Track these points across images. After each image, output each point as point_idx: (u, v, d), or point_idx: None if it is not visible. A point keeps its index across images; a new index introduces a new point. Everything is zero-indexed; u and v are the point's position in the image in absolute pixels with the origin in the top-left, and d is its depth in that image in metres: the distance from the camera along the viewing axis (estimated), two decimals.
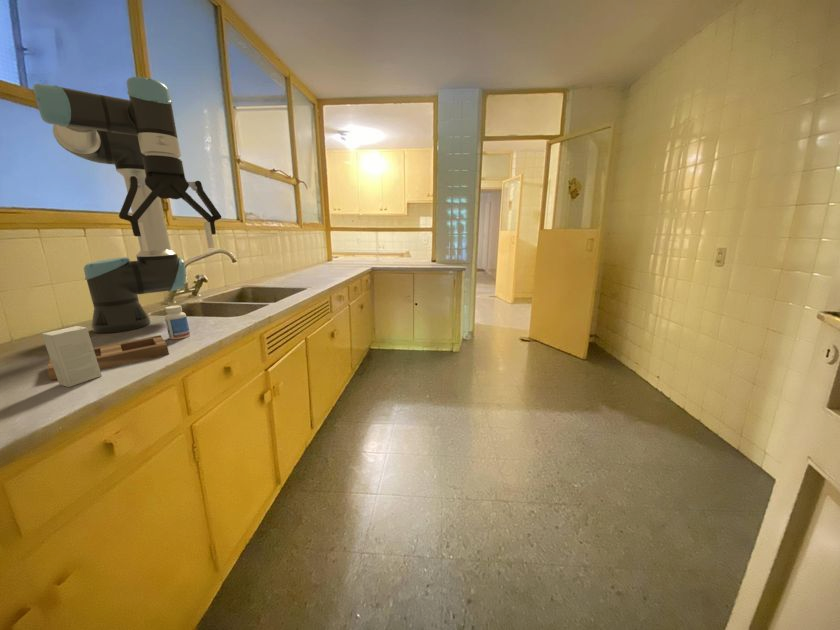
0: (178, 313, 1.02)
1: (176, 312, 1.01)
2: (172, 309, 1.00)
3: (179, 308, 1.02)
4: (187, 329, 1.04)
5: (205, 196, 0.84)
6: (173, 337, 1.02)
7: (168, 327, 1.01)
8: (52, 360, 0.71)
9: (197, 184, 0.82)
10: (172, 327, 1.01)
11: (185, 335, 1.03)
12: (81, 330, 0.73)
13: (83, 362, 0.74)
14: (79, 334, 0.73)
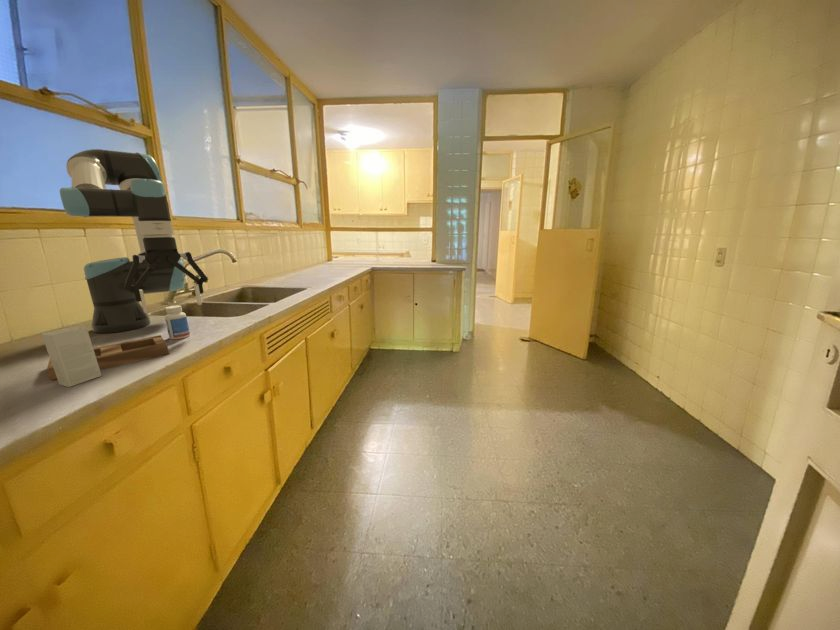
0: (178, 313, 1.02)
1: (176, 312, 1.01)
2: (172, 309, 1.00)
3: (179, 308, 1.02)
4: (187, 329, 1.04)
5: (194, 264, 1.02)
6: (173, 337, 1.02)
7: (168, 327, 1.01)
8: (52, 360, 0.71)
9: (187, 255, 1.01)
10: (172, 327, 1.01)
11: (185, 335, 1.03)
12: (81, 330, 0.73)
13: (83, 362, 0.74)
14: (79, 334, 0.73)
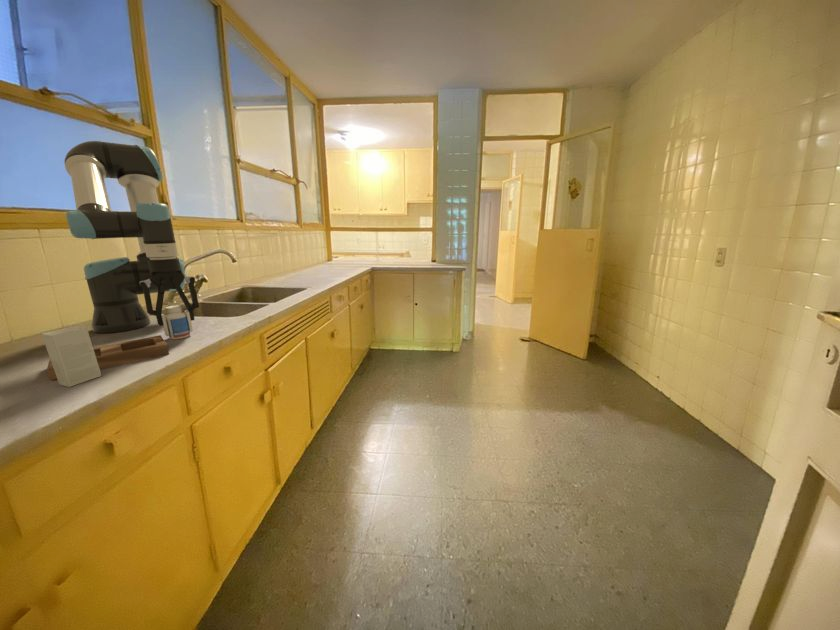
0: (178, 313, 1.02)
1: (176, 312, 1.01)
2: (172, 309, 1.00)
3: (179, 308, 1.02)
4: (187, 329, 1.04)
5: (193, 289, 1.04)
6: (173, 337, 1.02)
7: (168, 327, 1.01)
8: (52, 360, 0.71)
9: (191, 279, 1.03)
10: (172, 327, 1.01)
11: (185, 335, 1.03)
12: (81, 330, 0.73)
13: (83, 362, 0.74)
14: (78, 334, 0.73)
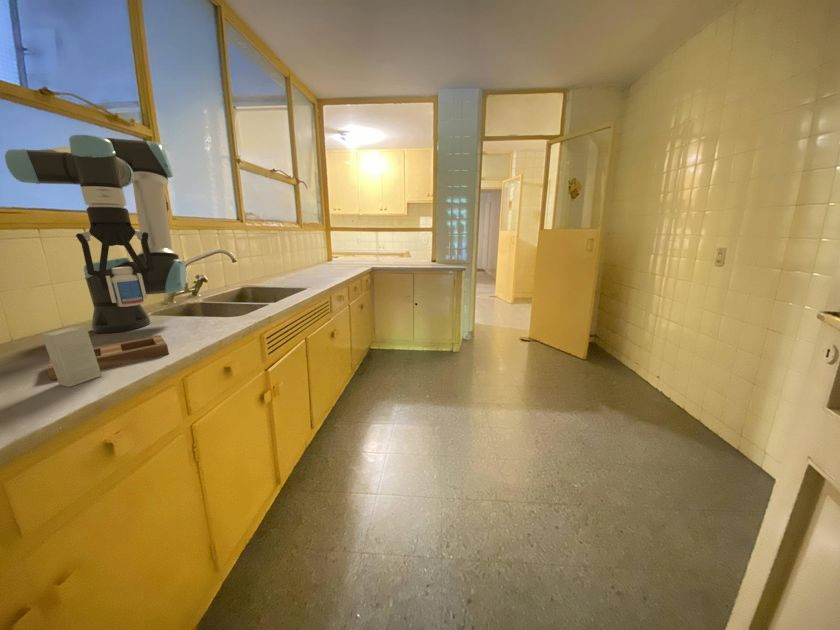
0: (127, 275, 0.84)
1: (125, 274, 0.84)
2: (119, 269, 0.83)
3: (129, 269, 0.85)
4: (139, 295, 0.87)
5: (146, 247, 0.87)
6: (121, 304, 0.84)
7: (115, 292, 0.84)
8: (52, 360, 0.71)
9: (143, 235, 0.86)
10: (119, 292, 0.84)
11: (137, 302, 0.86)
12: (81, 330, 0.73)
13: (83, 362, 0.74)
14: (78, 334, 0.73)
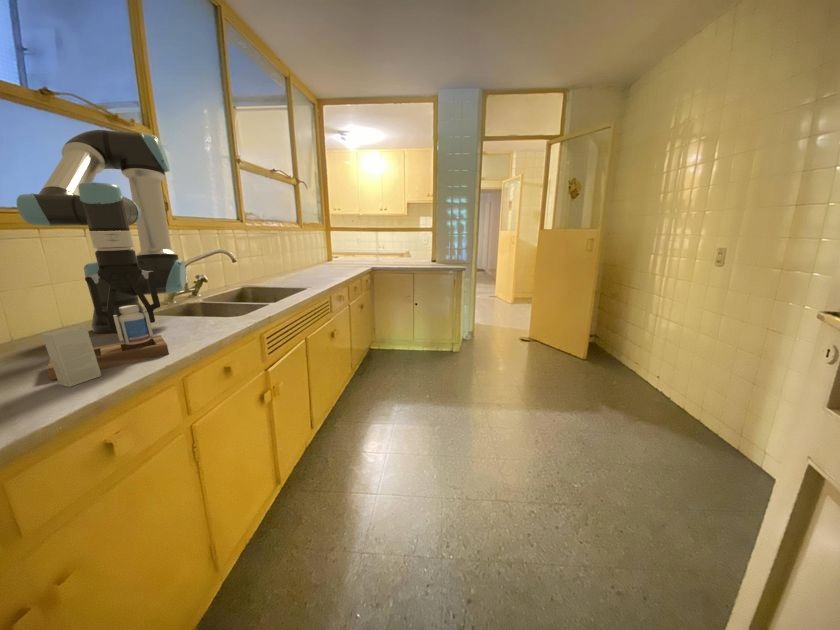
0: (134, 314, 0.86)
1: (132, 313, 0.86)
2: (126, 309, 0.85)
3: (135, 308, 0.87)
4: (146, 333, 0.89)
5: (153, 286, 0.89)
6: (128, 342, 0.86)
7: (122, 330, 0.86)
8: (52, 360, 0.71)
9: (150, 274, 0.88)
10: (126, 331, 0.86)
11: (143, 340, 0.88)
12: (81, 330, 0.73)
13: (83, 362, 0.74)
14: (79, 334, 0.73)
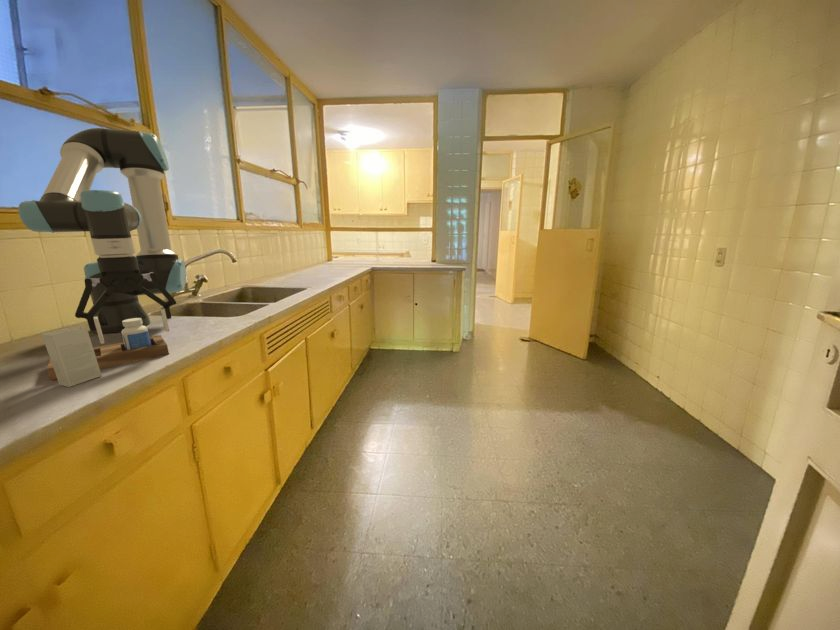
0: (137, 327, 0.88)
1: (135, 326, 0.87)
2: (130, 323, 0.86)
3: (139, 321, 0.88)
4: (148, 345, 0.90)
5: (160, 286, 0.90)
6: None
7: (125, 343, 0.87)
8: (52, 360, 0.71)
9: (151, 276, 0.88)
10: (129, 344, 0.87)
11: None
12: (81, 330, 0.73)
13: (83, 362, 0.74)
14: (79, 334, 0.73)
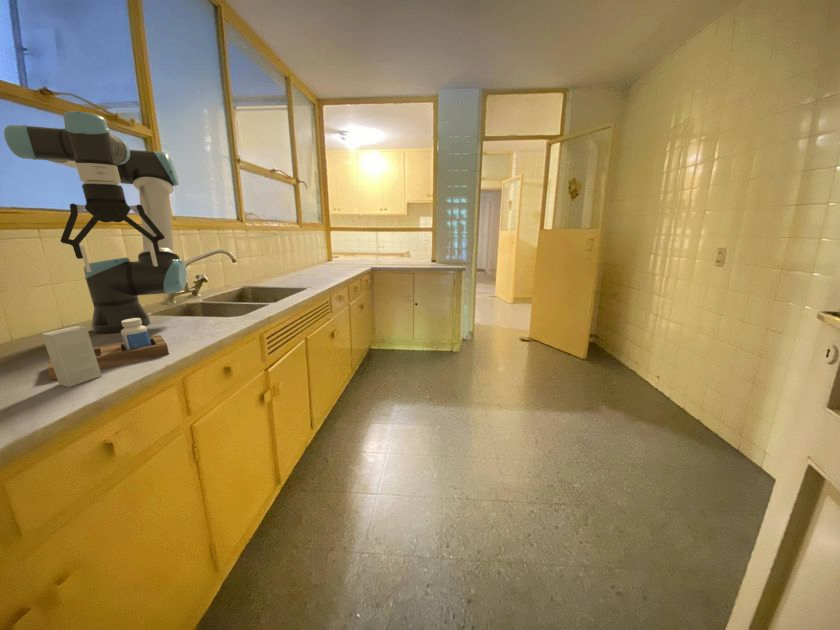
0: (136, 327, 0.87)
1: (134, 326, 0.87)
2: (129, 323, 0.86)
3: (138, 321, 0.88)
4: (148, 345, 0.90)
5: (147, 218, 0.90)
6: None
7: (125, 343, 0.87)
8: (52, 360, 0.71)
9: (138, 208, 0.88)
10: (129, 344, 0.87)
11: None
12: (81, 330, 0.73)
13: (83, 362, 0.74)
14: (79, 334, 0.73)
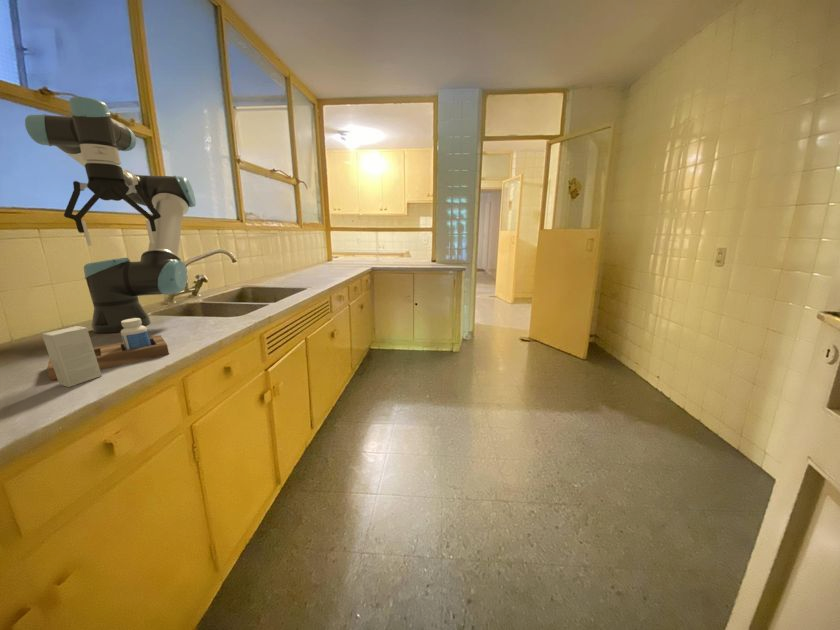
0: (136, 327, 0.87)
1: (134, 326, 0.87)
2: (128, 323, 0.86)
3: (137, 321, 0.88)
4: (148, 345, 0.90)
5: (144, 198, 0.96)
6: None
7: (125, 344, 0.87)
8: (52, 360, 0.71)
9: (136, 187, 0.95)
10: (129, 344, 0.87)
11: None
12: (81, 330, 0.73)
13: (83, 362, 0.74)
14: (79, 334, 0.73)
